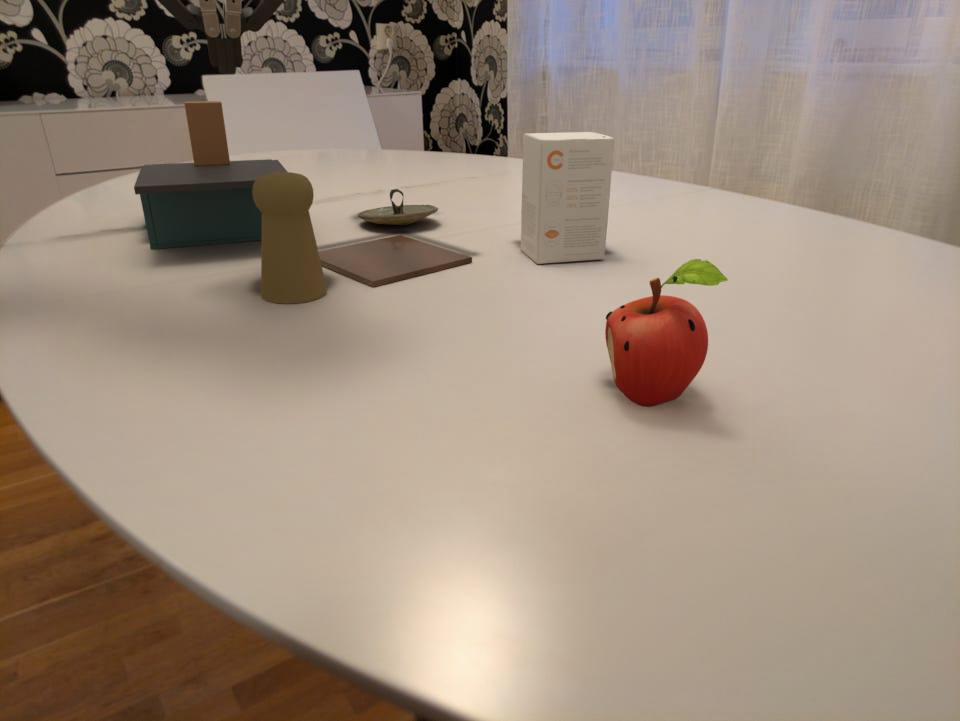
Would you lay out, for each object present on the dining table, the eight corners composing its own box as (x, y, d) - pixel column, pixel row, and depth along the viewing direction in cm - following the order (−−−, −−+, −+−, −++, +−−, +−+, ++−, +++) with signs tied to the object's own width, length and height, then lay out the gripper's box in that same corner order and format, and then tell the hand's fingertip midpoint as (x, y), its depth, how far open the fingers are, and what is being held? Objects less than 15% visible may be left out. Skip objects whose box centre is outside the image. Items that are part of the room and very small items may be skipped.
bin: (150, 249, 77) (137, 182, 74) (155, 223, 88) (144, 164, 85) (290, 238, 82) (283, 175, 79) (278, 214, 93) (271, 159, 90)
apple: (576, 403, 44) (588, 254, 40) (618, 367, 49) (633, 231, 45) (693, 438, 40) (720, 277, 36) (725, 394, 45) (752, 249, 41)
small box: (583, 246, 80) (592, 130, 74) (605, 260, 74) (616, 137, 69) (518, 249, 78) (522, 132, 72) (535, 265, 72) (541, 138, 67)
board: (373, 287, 65) (372, 281, 65) (305, 259, 74) (304, 253, 73) (472, 262, 73) (472, 257, 73) (400, 239, 82) (400, 234, 82)
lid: (412, 248, 84) (421, 209, 81) (342, 221, 85) (349, 183, 83) (442, 232, 93) (451, 197, 91) (379, 209, 95) (386, 174, 92)
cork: (261, 306, 60) (243, 180, 55) (261, 285, 65) (245, 169, 61) (329, 300, 61) (318, 177, 57) (324, 280, 67) (314, 166, 62)
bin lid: (135, 194, 67) (118, 112, 64) (142, 172, 80) (129, 102, 76) (294, 185, 73) (286, 109, 69) (278, 166, 85) (271, 100, 82)
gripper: (290, -159, 53) (293, 46, 67) (101, -183, 48) (147, 42, 62) (305, -113, 49) (305, 94, 63) (102, -134, 45) (150, 93, 59)
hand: (226, 68), depth 63 cm, fingers closed
